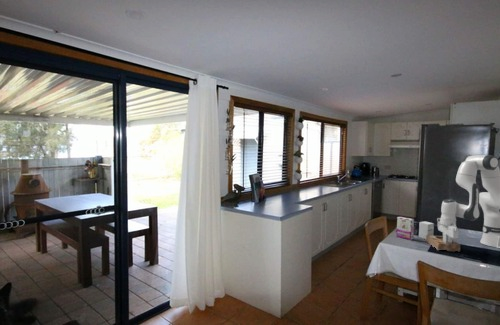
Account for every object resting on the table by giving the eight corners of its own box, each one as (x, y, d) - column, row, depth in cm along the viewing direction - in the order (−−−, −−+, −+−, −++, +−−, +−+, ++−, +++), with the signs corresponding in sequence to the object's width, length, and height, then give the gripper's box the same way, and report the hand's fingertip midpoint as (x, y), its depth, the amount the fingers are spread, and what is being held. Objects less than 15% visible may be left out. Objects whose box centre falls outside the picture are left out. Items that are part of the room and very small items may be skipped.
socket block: (445, 242, 203) (446, 235, 202) (459, 251, 185) (460, 244, 185) (425, 241, 205) (426, 234, 205) (438, 250, 188) (438, 243, 187)
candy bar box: (413, 239, 210) (414, 219, 209) (410, 240, 207) (411, 220, 206) (398, 235, 219) (399, 216, 218) (396, 236, 216) (396, 217, 215)
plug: (448, 244, 192) (449, 231, 191) (451, 246, 188) (452, 233, 187) (442, 244, 193) (443, 231, 192) (445, 246, 189) (446, 233, 188)
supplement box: (427, 239, 209) (428, 224, 208) (418, 236, 215) (418, 221, 215) (433, 238, 211) (434, 223, 211) (424, 235, 218) (425, 220, 217)
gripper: (462, 226, 179) (461, 246, 179) (445, 218, 199) (444, 236, 200) (451, 226, 180) (450, 245, 181) (436, 217, 200) (435, 235, 201)
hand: (447, 240), depth 190 cm, fingers closed on plug, 4 cm apart
